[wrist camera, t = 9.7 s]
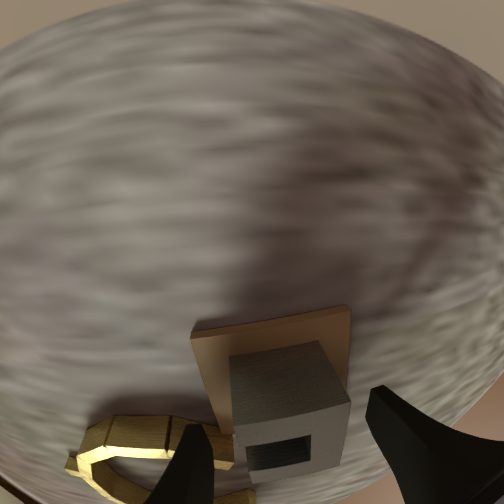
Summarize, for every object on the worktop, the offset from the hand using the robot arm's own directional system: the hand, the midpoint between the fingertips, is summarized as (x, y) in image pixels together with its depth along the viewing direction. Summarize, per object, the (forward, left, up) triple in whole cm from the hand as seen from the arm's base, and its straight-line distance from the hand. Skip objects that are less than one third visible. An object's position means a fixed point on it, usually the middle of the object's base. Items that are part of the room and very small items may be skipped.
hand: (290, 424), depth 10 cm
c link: (0, 0, -3) cm, 3 cm away
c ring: (-9, +10, -3) cm, 14 cm away
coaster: (0, 0, -3) cm, 3 cm away
